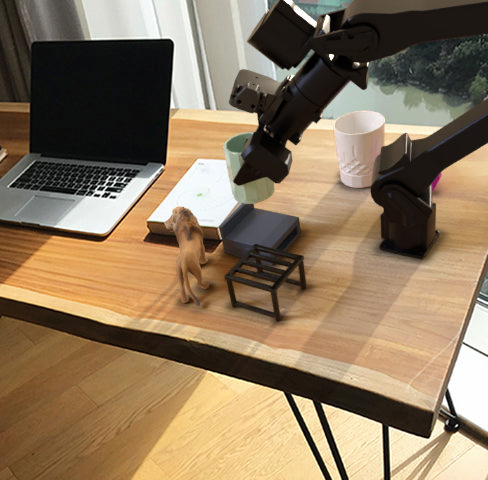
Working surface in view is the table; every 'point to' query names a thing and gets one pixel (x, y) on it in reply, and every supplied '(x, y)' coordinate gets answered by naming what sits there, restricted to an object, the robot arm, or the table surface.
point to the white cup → (358, 145)
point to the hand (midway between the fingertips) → (240, 171)
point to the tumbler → (234, 161)
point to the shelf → (258, 231)
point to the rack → (265, 276)
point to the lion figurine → (188, 249)
